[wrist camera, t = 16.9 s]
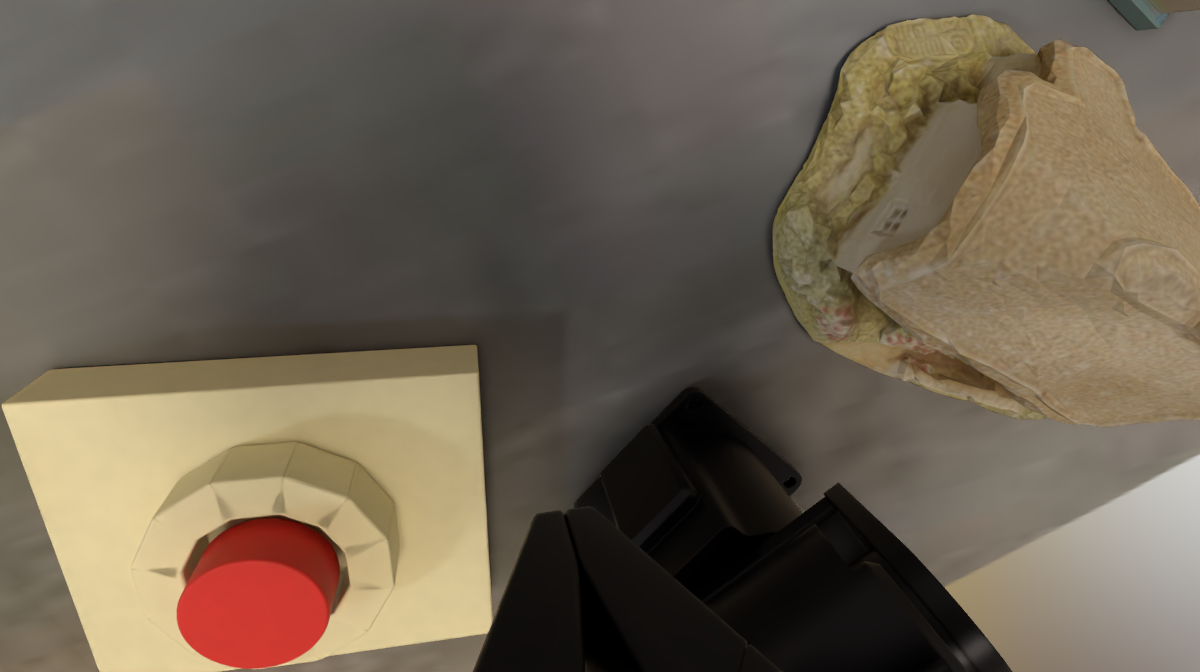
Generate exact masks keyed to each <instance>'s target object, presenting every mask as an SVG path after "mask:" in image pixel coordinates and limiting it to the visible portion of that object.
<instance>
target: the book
mask: <svg viewBox="0 0 1200 672" xmlns="http://www.w3.org/2000/svg"><path fill="white" fill-rule="evenodd" d="M1108 1H1109V2H1110V3H1111V4H1112V5H1113V6H1114V7H1115V8H1116V9H1117V10H1118V11H1119V12H1120V13H1121V14H1122V15H1123V16H1124V17H1125V18H1126V19H1127V20H1128V21H1129V22H1130V23H1131V25H1132V26H1133V27H1134V28H1135V29H1136V30H1145V29H1158V28H1159V26H1160V25H1161V24H1162V22H1163V21H1164V20H1165V18H1166V17H1167V16H1168V14H1169V13H1170V12H1181V11H1193V10H1200V0H1108Z"/></svg>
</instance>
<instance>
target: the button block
mask: <svg viewBox="0 0 1200 672" xmlns="http://www.w3.org/2000/svg"><path fill="white" fill-rule="evenodd" d="M2 409H3V412H4V414H5V417H6V420H7V423H8V425H9V428H10V431H11V433H12V436H13V439H14V441H15V444H16V447H17V450H18V452H19V455H20V458H21V460H22V463H23V466H24V469H25V471H26V474H27V477H28V479H29V482H30V485H31V488H32V490H33V493H34V496H35V498H36V501H37V504H38V506H39V509H40V512H41V515H42V517H43V520H44V523H45V525H46V528H47V531H48V534H49V536H50V539H51V542H52V544H53V547H54V550H55V553H56V555H57V558H58V561H59V563H60V566H61V569H62V572H63V574H64V577H65V580H66V582H67V585H68V588H69V590H70V593H71V596H72V599H73V601H74V604H75V607H76V609H77V612H78V615H79V618H80V620H81V623H82V626H83V628H84V631H85V634H86V637H87V639H88V642H89V645H90V647H91V650H92V653H93V655H94V658H95V661H96V664H97V666H98V669H99V672H220V671H227V670H234V669H241V668H236V667H231V666H226V665H223V664H219V663H217V662H214V661H212V660H210V659H208V658H206V657H204V656H202V655H201V654H199V653H198V652H196V651H195V650H194V649H193V648H192V647H191V646H190V645H189V644H188V643H187V642H186V641H185V639H184V638H183V636H182V634H181V632H180V630H179V627H178V623H177V605H178V601H179V599H180V596H181V594H182V592H183V590H184V588H185V586H186V585H187V583H188V581H189V579H190V577H191V575H192V573H193V572H194V570H195V568H196V566H197V564H198V562H199V560H200V558H201V557H202V555H203V553H204V551H205V549H206V548H207V546H208V545H209V544H210V543H211V541H212V540H213V539H215V538H216V537H217V536H218V535H219V534H221V533H222V532H224V531H225V530H227V529H229V528H231V527H232V526H234V525H237V524H240V523H242V522H246V521H250V520H255V519H262V518H279V519H286V520H291V521H295V522H298V523H301V524H304V525H306V526H308V527H310V528H312V529H314V530H315V531H317V532H318V533H320V534H321V535H322V536H323V537H324V538H326V539H327V541H328V542H329V543H330V544H331V546H332V547H333V549H334V550H335V553H336V555H337V557H338V560H339V565H340V576H339V581H338V585H337V589H336V593H335V598H334V602H333V606H332V610H331V614H330V619H329V622H328V626H327V628H326V630H325V632H324V634H323V635H322V637H321V638H320V640H319V641H318V642H317V643H316V644H315V645H314V646H313V647H312V648H311V649H310V650H309V651H307V652H306V653H304V654H303V655H301V656H300V657H298V658H296V659H294V660H292V661H289V662H287V663H284V664H280V665H277V666H284V665H291V664H298V663H305V662H312V661H317V660H321V659H323V658H324V657H326V656H332V655H339V654H346V653H353V652H360V651H367V650H374V649H381V648H388V647H395V646H402V645H409V644H416V643H423V642H430V641H437V640H444V639H451V638H458V637H465V636H472V635H479V634H486V633H488V632H489V629H490V627H491V624H492V622H493V615H492V597H491V579H490V561H489V544H488V526H487V508H486V490H485V472H484V455H483V437H482V419H481V401H480V383H479V367H478V352H477V346H476V345H462V346H445V347H428V348H411V349H394V350H376V351H359V352H342V353H325V354H308V355H290V356H273V357H256V358H239V359H222V360H204V361H187V362H170V363H153V364H136V365H118V366H101V367H84V368H67V369H51V370H48V371H47V372H46V373H44V374H43V375H41V376H40V377H39V378H37V379H36V380H35V381H33V382H32V383H30V384H29V385H28V386H26V387H25V388H23V389H22V390H21V391H19V392H18V393H17V394H15V395H14V396H12V397H11V398H10V399H8V400H7V401H5V402H4V403H3V404H2ZM277 666H272V667H277ZM267 668H270V667H267ZM255 669H256V668H254V670H255ZM257 669H263V668H257Z"/></svg>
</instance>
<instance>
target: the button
mask: <svg viewBox="0 0 1200 672" xmlns="http://www.w3.org/2000/svg"><path fill="white" fill-rule="evenodd" d="M339 576H340V565H339V560H338V557H337V555H336V553H335V550H334V549H333V547H332V546H331V544H330V543H329V542H328V541H327V539H326V538H324V537H323V536H322V535H321V534H320V533H318V532H317V531H315V530H314V529H312V528H310V527H308V526H306V525H304V524H301V523H298V522H295V521H291V520H286V519H279V518H262V519H255V520H250V521H246V522H242V523H240V524H237V525H234V526H232V527H231V528H229V529H227V530H225V531H224V532H222V533H221V534H219V535H218V536H217V537H216V538H215V539H213V540H212V541H211V543H210V544H209V545H208V546H207V548H206V549H205V551H204V553H203V555H202V557H201V558H200V560H199V562H198V564H197V566H196V568H195V570H194V572H193V573H192V575H191V577H190V579H189V581H188V583H187V585H186V586H185V588H184V590H183V592H182V594H181V596H180V599H179V601H178V605H177V623H178V627H179V630H180V632H181V634H182V636H183V638H184V639H185V641H186V642H187V643H188V644H189V645H190V646H191V647H192V648H193V649H194V650H195V651H196V652H198V653H199V654H201V655H202V656H204V657H206V658H208V659H210V660H212V661H214V662H217V663H219V664H223V665H226V666H231V667H236V668H247V669H254V668H267V667H272V666H277V665H280V664H284V663H287V662H289V661H292V660H294V659H296V658H298V657H300V656H301V655H303V654H304V653H306V652H307V651H309V650H310V649H311V648H312V647H313V646H314V645H315V644H316V643H317V642H318V641H319V640H320V638H321V637H322V635H323V634H324V632H325V630H326V628H327V626H328V622H329V619H330V614H331V610H332V606H333V602H334V598H335V593H336V589H337V585H338V581H339Z"/></svg>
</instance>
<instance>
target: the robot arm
mask: <svg viewBox="0 0 1200 672" xmlns="http://www.w3.org/2000/svg"><path fill="white" fill-rule="evenodd" d="M696 398H697V399H698V401H697V403H696V404H695V405H693V406H688V403H689V402H690V401H691V400H692V399H696ZM788 477H790V479H789V480H787V481H786V482H784V480H785V479H786V478H788ZM801 481H802V479H801V475H800V474H799V473H798V471H797V470H796V469H795V468H794V467H793V466H792V465H791V464H789V463H788V462H787V461H786V460H785V459H783V458H782V457H781V456H780V455H779V454H777V453H776V452H775V451H774V450H773V449H771V448H770V447H769V446H768V445H767V444H765V443H764V442H763V441H762V440H761V439H759V438H758V437H757V436H756V435H755V434H753V433H752V432H751V431H750V430H749V429H747V428H746V427H745V426H744V425H743V424H741V423H740V422H739V421H738V420H737V419H735V418H734V417H733V416H732V415H731V414H730V413H728V412H727V411H726V410H725V409H724V408H722V407H721V406H720V405H719V404H718V403H716V402H715V401H714V400H713V399H712V398H710V397H709V396H708V395H707V394H706V393H704V392H703V391H702V390H701V389H699V388H697V387H690V388H687V389H685V390H684V391H682V392H681V393H680V394H679V395H678V396H677V397H676V398H675V399H674V401H673V402H672V403H671V404H670V405H669V406H668V407H667V408H666V409H665V410H664V411H663V412H662V413H661V414H660V415H659V416H658V417H657V418H656V419H655V420H654V421H653V422H652V423H651V424H650V425H647V426H645V427H644V428H643V429H642V430H641V431H640V432H639V433H638V434H637V435H636V436H635V438H634V439H633V440H632V441H631V442H630V443H629V444H628V445H627V446H626V447H625V448H624V449H623V450H622V451H621V452H620V453H619V454H618V455H617V456H616V457H615V458H614V459H613V460H612V461H611V462H610V463H609V464H608V466H607V467H606V468H605V469H604V470H603V471H602V472H601V476H600V477H599V478H598V479H597V480H596V481H595V482H594V483H593V484H592V486H591V487H590V488H589V489H588V490H587V491H586V492H585V493H584V494H583V495H582V496H581V497H580V498H579V499H578V500H577V502H576V503H575V506H574V508H573V509H568V510H566V511H565V513H563V512H561V511H552V512H545V513H538V514H536V515H535V516H534V518H533V520H532V522H531V525H530V527H529V530H528V532H527V535H526V538H525V540H524V543H523V545H522V548H521V550H520V553H519V555H518V558H517V561H516V563H515V566H514V568H513V571H512V573H511V576H510V578H509V581H508V583H507V586H506V589H505V591H504V594H503V596H502V599H501V601H500V604H499V606H498V609H497V611H496V614H495V617H494V619H493V622H492V624H491V627H490V629H489V632H488V634H487V637H486V640H485V642H484V645H483V647H482V650H481V652H480V655H479V657H478V660H477V662H476V665H475V668H474V670H473V672H1012V671H1011V669H1010V668H1009V667H1008V665H1007V664H1006V662H1005V661H1004V660H1003V658H1002V657H1001V656H1000V654H999V653H998V652H997V651H996V649H995V648H994V647H993V645H992V644H991V643H990V642H989V640H988V639H987V638H986V637H985V635H984V634H983V633H982V632H981V630H980V629H979V628H978V627H977V626H976V624H975V623H974V622H973V621H972V620H971V618H970V617H969V616H968V615H967V613H966V612H965V611H964V610H963V609H962V608H961V606H960V605H959V604H958V603H957V602H956V601H955V599H954V598H953V597H952V596H951V595H950V594H949V593H948V591H947V590H946V589H945V588H944V587H943V586H942V584H941V583H940V582H939V581H938V580H937V579H936V578H935V577H934V576H933V574H932V573H931V572H930V571H929V570H928V569H927V568H926V567H925V566H924V565H923V564H922V563H921V561H920V560H919V559H918V558H917V557H916V556H915V555H914V554H913V553H912V552H911V551H910V550H909V549H908V548H907V547H906V546H905V545H904V544H903V543H902V542H901V541H900V540H899V539H898V538H897V537H896V536H895V535H893V534H892V533H891V532H890V531H889V530H888V529H887V528H886V527H885V526H884V525H883V524H882V523H881V522H880V521H879V520H878V519H877V518H875V517H874V516H873V515H872V514H871V513H870V512H869V511H868V510H867V509H866V508H865V507H864V506H863V505H862V504H861V503H860V502H859V501H857V500H856V499H855V498H854V497H853V496H852V495H851V494H850V493H849V492H848V491H847V490H846V489H845V488H844V487H843V486H842V485H841V484H839V483H837V484H836V485H834V486H833V487H832V488H830V489H829V490H827V491H826V492H825V493H823V494H824V495H825V497H824V498H823V499H822V500H820V501H819V502H817V503H816V504H815V505H813V506H812V507H811V508H809V509H808V510H807V511H805V512H804V513H802V512H801V511H800V510H799V508H798V507H797V506H796V504H795V503H794V502H793V501H792V499H791V498H790V497H789V496H790V495H791V494H792V493H793V492H794V491H795V490H797V489H798V487H799V486H800V484H801Z"/></svg>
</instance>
